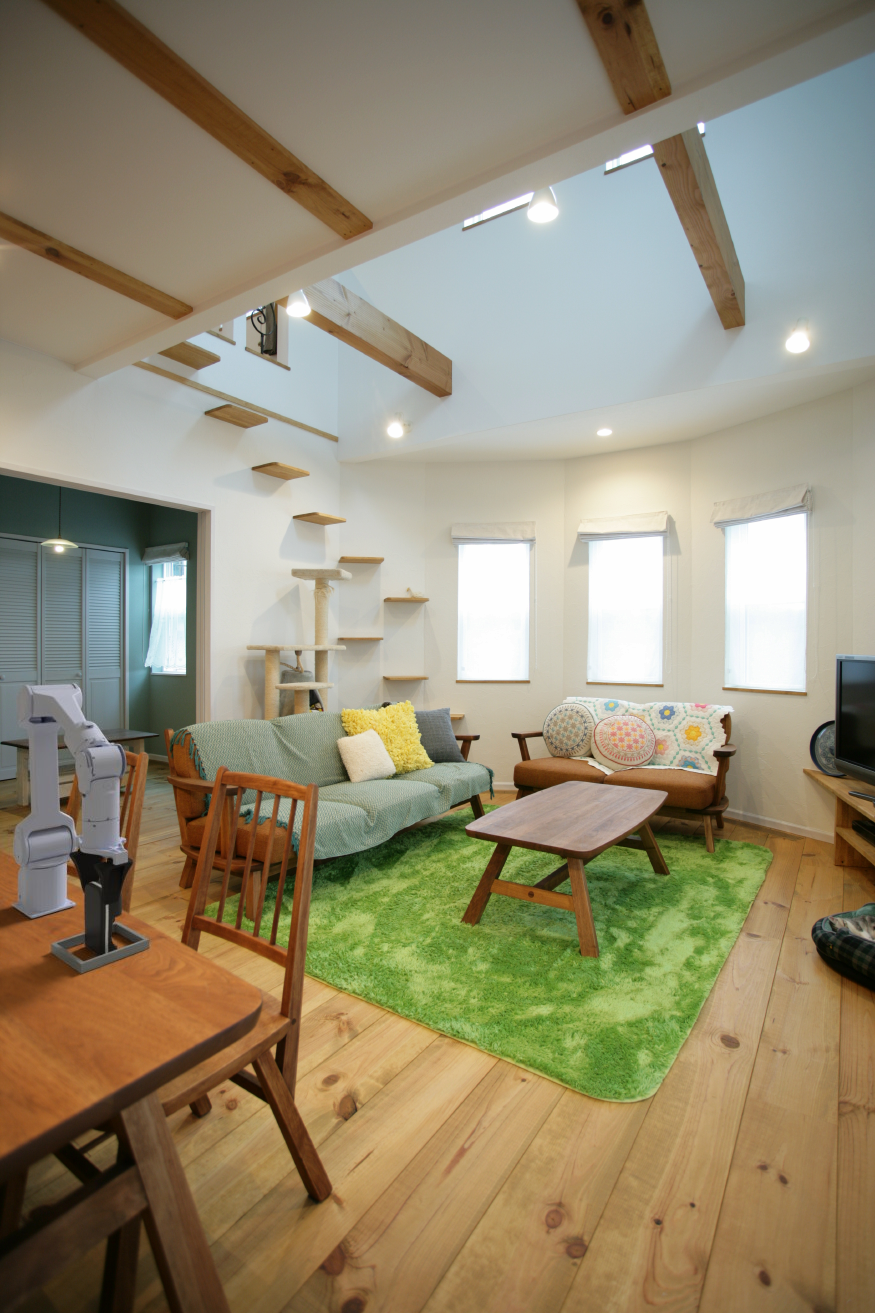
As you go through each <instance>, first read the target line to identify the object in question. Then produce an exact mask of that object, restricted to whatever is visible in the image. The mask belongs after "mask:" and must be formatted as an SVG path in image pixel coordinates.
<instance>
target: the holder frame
mask: <svg viewBox="0 0 875 1313" xmlns="http://www.w3.org/2000/svg"><path fill="white" fill-rule="evenodd" d="M113 933H117V934H119V935H120V936H121V937H124V938H126V939H127V940H129V941H131V942H133V943H131V944H128V945H126V946H123V947H120V948H118V949H117V950H114V951H112V952H109V953H106V954H103V955H101V956H99V955H97V956H95V957H92V958H90V959H87V960H84V961H83V960H81V959H80V958H79V957H77V956H76V955H75V954H73V953H72V952H70V951H68V950H67V949H69V948H72V947H76V946H79V945H81V944H85V931H84V932H81V933H78V934H76V935H73V936H70V937H66V938H63V939H60V940H57V941H54V942H51V943H50V953H52V954H53V955H54V956H56V957H57V958H58V959H60V960H61V961H63V962H65V963H66V964H67V965H68V966H70V967H71V968H72V969H74V970H75V971H77V972H78V973H80V974H81V975H82V974H84V973H87V972H89V971H93V970H95V969H97V968H101V967H103V966H106V965H108V964H111V963H113V962H117V961H118V960H121V959H124V958H126V957H129V956H132V955H135V954H137V953H140V952H143V951H145V950H148V949H150V939H149V938H148V937H146V936H144V935H142V933H139V932H137V931H136V930H134V929H131V928H130V927H128V926H127V925H124V924H122V923H121V922H119V921H114V923H113V925H112V934H113Z"/></svg>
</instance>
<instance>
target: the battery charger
mask: <svg viewBox="0 0 875 1313" xmlns="http://www.w3.org/2000/svg"><path fill="white" fill-rule="evenodd" d="M83 894H84V897H83V898H84V901H83V902H84V905H83V908H84V913H83V914H84V932H85V942H84V946H85V947H86V949H88V950H90V952H92V953H94V954H96V955H97V956H101V955H103V954H106V953H109V952H112V951H114V950H117V949H119V947H118V945H117V944H115V943H114V942H113V939H112V938H113V937H112V935H113V933H112V925H113V923H115V922H116V918H118V917H120V916H122V913H123V909H122V908H123V905H122V904H123V901H122V893H121V894H120V898H119V901H118V902H115V903H112V904H109V905H105V904H104V901H103V896H102V887H101V882H100V879H99V881H96V882H90V883H88V884H87V885H86V886H85V893H83Z"/></svg>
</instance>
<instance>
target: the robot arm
mask: <svg viewBox="0 0 875 1313" xmlns="http://www.w3.org/2000/svg"><path fill="white" fill-rule="evenodd" d="M18 690H19V691H18V692H17V697H16V719H17V725H18V727H19V728H21V729H24V730H26V731H27V735H28V736H27V737H28V751H29V752H28V754H29V755H28V756H29V757H28V758H29V778H30V779H29V781H30V782H29V783H30V784H29V785H30V788H29V789H30V808H31V810H30V813H29V814H28V815H27V816H26V817H24V819H23V820H22V821H20V822H19V823H17V825H15V829H14V839H13V842H12V851H13V852H12V853H13V857H14V860H15V861H14V862H16V864H17V865H19V866H20V867H19V870H18V872H17V902H14V903H12V907H13V908H15V909H16V910H18V911H20V912H21V913H23V914H24V915H25V916H27V917H29V918H30V919H35V918H38V917H42V916H44V915H49V914H52V913H55V912H58V911H59V912H60V911H62V910H66V909H69V908H73V907H76V902H74V901H73V900H70V899H68V890H67V889H68V887H67V886H68V885H67V884H68V877H67V876H68V874H67V873H68V872H67V870H68V866H67V863H68V861H70V860H71V861H72V863H73V865H74V867H75V869H76V871H77V872H76V873H77V874H78V878H79V882H80V886H81V890H82V893H83V894H84V893H85V886H86V885H87V884H88V883H90V882H96V881H99V880H100V882H101V887H102V896H103V901H104V904H105V905H109V904H112V903H115V902H118V901H119V898H120V894H121V895H122V890H123V886H124V883H125V879H126V878H127V875H128V873H129V871H130V870H131V868H132V866H133V864H134V859H132V858H130V857H128V856H129V854H128V852H129V851H128V850H127V849H125V847H124V846H123V844H126V843H127V838H125V837H122V836H120V814H121V813H120V812H121V811H120V807H121V806H120V803H121V802H120V796H121V795H120V792H121V791H120V790H121V789H120V787H121V786H120V784H121V783H120V782H121V780H120V779H121V778H123V777H124V775H125V773H126V771H127V757H126V753H125V750H124V748H123V746H122V745H121V744H119V743H114V742H109V740H108V739H107V737H106V736H105V735H104V733H103V732H102V731H101V729H100V727H99V726H98V725H97V724H96V723H95V722H94V721H90V720H87V719H86V717H85V716H84V713H83V711H82V707H83V693H82V689H81V687H80V686H78V684H77V683H75V682H74V683H69V684H68V683H65V684H63V683H62V684H45V685H43V684H41V685H39V684H37V685H28V684H24V685H23V686H21V688H20V689H18ZM60 728H62V729H63V730H64V732H65V733H64V735H63V741H64V744H65V745H66V747H67V748H68V749H69V752H70V753H71V755H72V757H73V758H74V759H75V773H76V777H77V782H78V784H77V785H78V786H77V787H78V791H79V792H80V793H81V834H79V835H77V831H76V828H75V821H74V819H73V817H71V816H70V815H69V814H66V813H64V812H63V811H61V810H60V808H61V806H60V786H59V785H60V782H59V781H60V779H59V753H58V751H59V750H58V731H59V730H60ZM104 858H105V859H106V861H103V859H104Z"/></svg>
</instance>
